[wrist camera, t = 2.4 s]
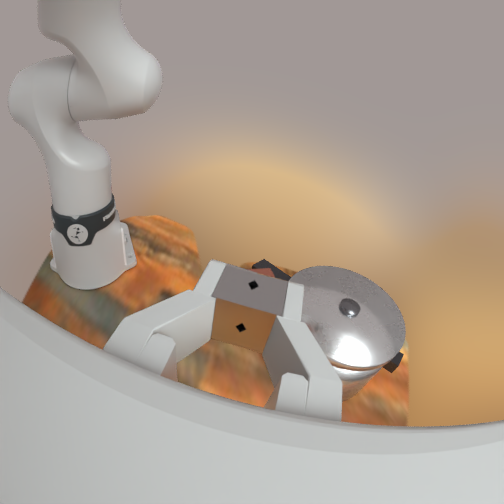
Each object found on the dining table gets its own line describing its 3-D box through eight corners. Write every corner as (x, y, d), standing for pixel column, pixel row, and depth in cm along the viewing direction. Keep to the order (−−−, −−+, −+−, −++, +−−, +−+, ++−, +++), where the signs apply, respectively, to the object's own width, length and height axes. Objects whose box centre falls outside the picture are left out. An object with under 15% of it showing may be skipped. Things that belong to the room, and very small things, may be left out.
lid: (359, 267, 47) (377, 228, 42) (421, 348, 33) (454, 308, 29) (216, 279, 38) (223, 227, 33) (260, 405, 24) (283, 362, 20)
